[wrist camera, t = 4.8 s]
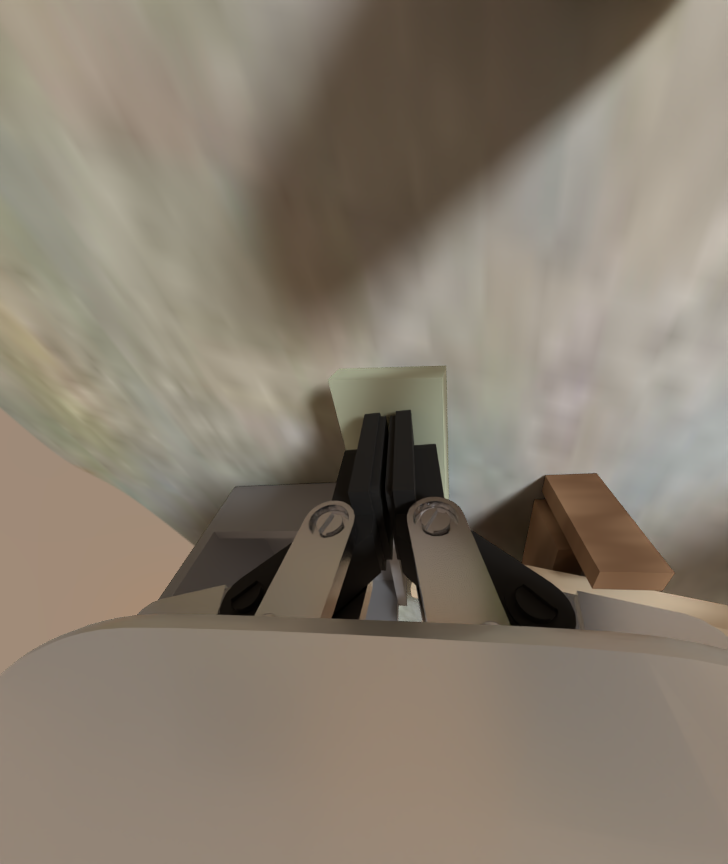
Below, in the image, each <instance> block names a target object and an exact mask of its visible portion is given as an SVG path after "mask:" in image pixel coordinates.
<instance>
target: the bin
mask: <svg viewBox="0 0 728 864" xmlns="http://www.w3.org/2000/svg"><path fill="white" fill-rule="evenodd" d="M335 486H336V483H315V484H291V485H266V486H242V487H235V488H234V489H233V491H232V492H231V494H230V495H229V497H228V498H227V499H226V501H225V502H224V504H223V505H222V507H221V508H220V510H219V511H218V513H217V514H216V516H215V517H214V519H213V520H212V522H211V523H210V524H209V526H208V527H207V529H206V530H205V532H204V533H203V535H202V536H201V538H200V539H199V541H198V542H197V544H196V545H195V547H194V548H193V549H192V551H191V552H190V554H189V555H188V557H187V558H186V560H185V561H184V563H183V564H182V566H181V567H180V569H179V570H178V572H177V573H176V574H175V576H174V578H173V579H172V580H171V582H170V583H169V585H168V586H167V588H166V589H165V591H164V592H163V594H162V595H161V597H160V598H159V599H158V600H160V599H164V598H168V597H173V596H177V595H182V594H186V593H190V592H195V591H199V590H204V589H208V588H213V587H217V586H222V585H226V586H227V587H228V588H230V587H232V585H233V584H235V583H236V582H237V581H238V580H239V579H240V578H242V577H243V576H245V575H246V574H248V573H249V572H250V571H252V570H253V569H255V568H256V567H258V566H259V565H260V564H262V563H263V562H265V561H266V560H267V559H269V558H270V557H272V556H273V555H275V554H276V553H277V552H279V551H280V550H282V549H283V548H285V547H286V546H287V545H289V544H290V543H292V542H293V540H294V538H295V536H296V535H297V533H298V531H299V529H300V527H301V525H302V523H303V521H304V519H305V517H306V516H307V515H308V513H309V512H310V511H311V510H312V509H313V508H315V507H316V506H318V505H320V504H322V503H324V502H328V501H332V497H333V494H334V490H335ZM372 581H373V587H372V593H371V597H370V601H369V606H368V610H367V614H366V618H365V620H382V621H398V609H399V605H403V606H407V577H406V576H405V575H404V574H403V572H402V566H401V560H397V555H396V550H395V544H394V539H393V559H392V560H387V562H386V571H381V573H380V574H379V575H378V576H377V577H376V578H375V579H373V580H372Z"/></svg>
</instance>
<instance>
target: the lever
mask: <svg viewBox="0 0 728 864" xmlns="http://www.w3.org/2000/svg"><path fill="white" fill-rule="evenodd" d="M328 382H329V386H330V390H331V394H332V398H333V402H334V406H335V410H336V414H337V418H338V422H339V425H340V429H341V433H342V437H343V441H344V445H345V449H346V450H354V449H357V447H358V442H359V438H360V433H361V428H362V424H363V419H364V415H365V414H370V413H380V414H381V416H386V418H387V425H388V431H389V425H390V416H391V415H396V411H402V410H411V415H412V425H413V435H414V445H424V444H436V447H437V454H438V460H439V466H440V473H441V479H442V486H443V492H444V498H446V499H448V500H449V477H448V428H447V380H446V366H420V367H385V368H350V369H338V370H337V371H336V372H335V373H334V374H333V375H332V376H331V377H330V378H329V379H328ZM525 566H527V567H528V568H530V569H531V570H533V571H534V572H536V573H537V574H539V575H541V576H542V577H544V578H545V579H547V580H548V581H550V582H551V583H552V584H554V585H555V586H556V587H557V588H559V589H560V590H561V591H562V592H566V593H570V594H576V591H582V592H586V593H591V594H596V595H600V596H605V597H610V598H614V599H619V600H624V601H628V602H633V603H637V604H642V605H647V606H651V607H656V608H661V609H665V610H670V611H675V612H679V613H684V614H687V615H690V616H693V617H696V618H699V619H701V620H703V621H705V622H707V623H708V624H710V625H712V626H714V627H715V628H717V629H719V630H720V631H721V632H723V633H724V634H725V635H726V636H727V637H728V605H723V604H718V603H713V602H708V601H703V600H698V599H693V598H688V597H683V596H678V595H673V594H668V593H663V592H658V591H649V590H613V589H592V588H591V586H590V584H589V582H588V580H587V578H586V576H585V574H584V572H583V570H582V572H581V575H580V576H579V575H574V574H569V573H564V572H559V571H554V570H549V569H544V568H539V567H534V566H529V565H525ZM411 595H412V597H415V598H418V595H417V590H416V585H415V584H414V583H413V582H412V585H411Z"/></svg>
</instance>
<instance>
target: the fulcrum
mask: <svg viewBox="0 0 728 864" xmlns="http://www.w3.org/2000/svg"><path fill="white" fill-rule="evenodd" d="M542 493H543V495H544V497H545V499H535V500H534V504H533V509H532V514H531V519H530V524H529V529H528V534H527V539H526V544H525V550H524V555H523V560H522V564H524V565H529V566H534V567H539V568H544V569H549V570H554V571H559V572H564V573H569V574H574V575H579V576H580V575H581V572H582V570H583V572H584V574H585V576H586V578H587V580H588V582H589V584H590V586H591V588H592V589H613V590H649V591H663V589H664V588H665V587H666V585H667V584H668V582H669V581H670V579H671V578H672V576H673V575H674V574H675V573H674V571H673V570H672V569H671V568H670V566H669V565H668V564H667V562H666V561H665V560H664V559H663V557H662V556H661V555H660V554H659V552H658V551H657V550H656V548H655V547H654V546H653V545H652V543H651V542H650V541H649V539H648V538H647V537H646V536H645V534H644V533H643V532H642V531H641V529H640V528H639V527H638V525H637V524H636V523H635V522H634V520H633V519H632V518H631V517H630V515H629V514H628V513H627V511H626V510H625V509H624V508H623V506H622V505H621V504H620V502H619V501H618V500H617V499H616V497H615V496H614V495H613V494H612V492H611V491H610V490H609V488H608V487H607V486H606V485H605V483H604V482H603V481H602V479H601V478H600V477H599V476H598V474H597V473H593V474H568V475H545V480H544V484H543V489H542Z"/></svg>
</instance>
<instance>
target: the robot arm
mask: <svg viewBox="0 0 728 864" xmlns="http://www.w3.org/2000/svg"><path fill="white" fill-rule="evenodd" d="M393 539H394V544H395V550H396V555H397V560H401V566H402V572H403V574H404V575H405V576H406V577H408V578H409V579H410V580H411V581H412V582H413V583H414V584H415V585H416V590H417V595H418V601H419V606H420V611H421V616H422V622H408V621H382V620H365V618H366V614H367V610H368V606H369V601H370V597H371V593H372V587H373V581H372V580H373V579H375V578H376V577H377V576H378V575H379V574H380V573H381V571H386V562H387V560H392V559H393ZM0 864H728V637H727V636H726V635H725V634H724V633H723V632H721V631H720V630H719V629H717V628H715V627H714V626H712V625H710V624H708V623H707V622H705V621H703V620H701V619H699V618H696V617H693V616H690V615H687V614H684V613H679V612H675V611H670V610H665V609H661V608H656V607H651V606H647V605H642V604H637V603H633V602H628V601H624V600H619V599H614V598H610V597H605V596H600V595H596V594H591V593H586V592H582V591H576V594H570V593H566V592H562V591H561V590H560V589H559V588H557V587H556V586H555V585H554V584H552V583H551V582H550V581H548V580H547V579H545V578H544V577H542V576H541V575H539V574H537V573H536V572H534V571H533V570H531V569H530V568H528V567H527V566H525V565H524V564H522V563H521V562H519V561H518V560H516V559H515V558H513V557H511V556H510V555H508V554H507V553H505V552H504V551H502V550H501V549H499V548H498V547H496V546H495V545H493V544H492V543H490V542H489V541H487V540H485V539H484V538H482V537H481V536H479V535H478V534H476V533H475V532H473V531H472V530H470V527H469V525H468V523H467V520H466V518H465V515H464V513H463V512H462V510H461V508H460V507H459V506H458V505H457V504H455V503H454V502H453V501H450V500H448V499H446V498H444V492H443V486H442V479H441V473H440V466H439V460H438V454H437V447H436V444H424V445H414V435H413V425H412V415H411V410H402V411H396V415H391V416H390V425H389V431H388V425H387V418H386V416H381V414H380V413H370V414H365V415H364V419H363V424H362V428H361V433H360V438H359V442H358V447H357V449H354V450H346V451H345V453H344V456H343V460H342V464H341V468H340V471H339V475H338V479H337V482H336V486H335V490H334V494H333V497H332V501H328V502H324V503H322V504H320V505H318V506H316V507H315V508H313V509H312V510H311V511H310V512H309V513H308V515H307V516H306V517H305V519H304V521H303V523H302V525H301V527H300V529H299V531H298V533H297V535H296V536H295V538H294V540H293V542H292V543H290V544H289V545H287V546H286V547H285V548H283V549H282V550H280V551H279V552H277V553H276V554H275V555H273V556H272V557H270V558H269V559H267V560H266V561H265V562H263V563H262V564H260V565H259V566H258V567H256V568H255V569H253V570H252V571H250V572H249V573H248V574H246V575H245V576H243V577H242V578H240V579H239V580H238V581H237V582H236V583H235V584H233V585H232V587H230V588H228V587H227V586H226V585H222V586H217V587H213V588H208V589H204V590H199V591H195V592H190V593H186V594H182V595H177V596H173V597H168V598H164V599H160V600H158V601H155V602H153V603H151V604H150V605H148V606H147V607H145V608H144V609H142V610H141V611H140V612H139V614H137V615H134V616H128V617H120V618H115V619H111V620H106V621H102V622H99V623H95V624H91V625H88V626H85V627H83V628H80V629H77V630H75V631H72V632H69V633H67V634H64V635H61V636H59V637H57V638H54V639H52V640H50V641H48V642H46V643H44V644H42V645H40V646H39V647H37V648H35V649H33V650H32V651H30V652H29V653H27V654H26V655H24V656H23V657H21V658H20V659H18V660H17V661H16V662H14V663H13V664H12V665H11V666H10V667H9V668H7V669H6V670H5V671H4V672H3V673H1V674H0Z"/></svg>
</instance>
